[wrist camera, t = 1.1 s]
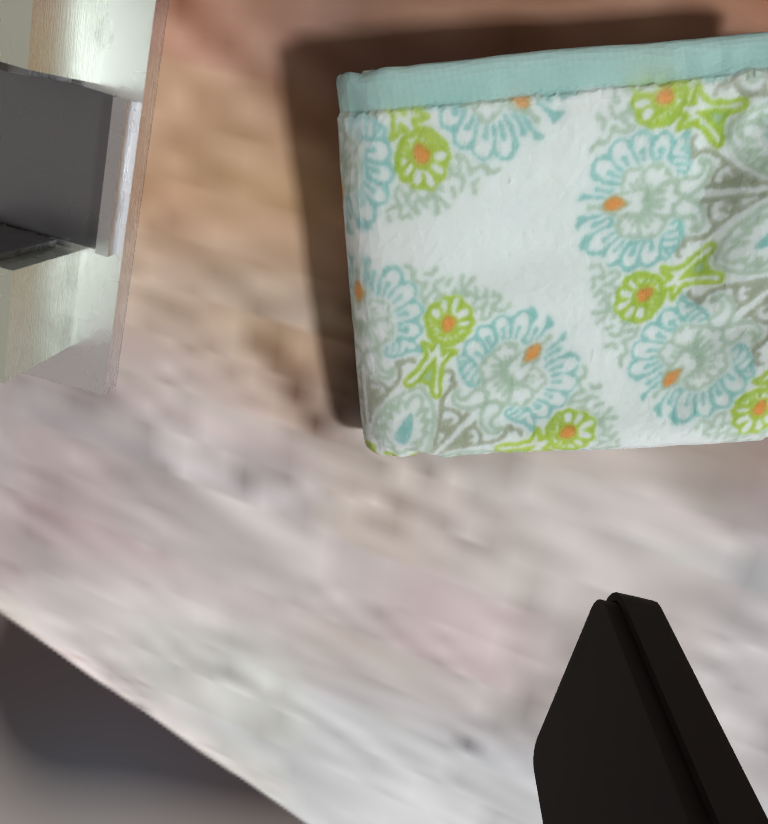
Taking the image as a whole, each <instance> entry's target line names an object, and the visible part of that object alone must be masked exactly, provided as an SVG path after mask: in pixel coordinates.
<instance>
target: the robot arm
mask: <svg viewBox="0 0 768 824" xmlns="http://www.w3.org/2000/svg"><path fill="white" fill-rule="evenodd" d="M533 765H534V773H535V779H536V785H537V791H538V796H539V802H540V808H541V814H542V820H543V824H768V818H767V816H766V814H765V812H764V811H763V809H762V807H761V805H760V803H759V801H758V799H757V797H756V795H755V793H754V791H753V789H752V787H751V785H750V783H749V781H748V779H747V777H746V775H745V773H744V771H743V769H742V767H741V765H740V763H739V761H738V759H737V757H736V755H735V753H734V751H733V749H732V747H731V745H730V743H729V741H728V739H727V737H726V735H725V733H724V731H723V729H722V727H721V725H720V723H719V721H718V719H717V717H716V715H715V713H714V712H713V710H712V708H711V706H710V704H709V702H708V700H707V698H706V696H705V694H704V692H703V690H702V688H701V686H700V684H699V682H698V680H697V678H696V676H695V674H694V672H693V670H692V668H691V666H690V664H689V662H688V660H687V658H686V656H685V654H684V652H683V650H682V648H681V646H680V644H679V642H678V640H677V638H676V636H675V634H674V632H673V630H672V628H671V626H670V624H669V622H668V620H667V618H666V616H665V614H664V613H663V611H662V609H661V607H660V605H659V604H658V603H657V602H655V601H652V600H648V599H644V598H639V597H635V596H631V595H626V594H622V593H617V592H615V593H612V594H611V595H610V596H609V597H608V598H607V600H606V601H605V600H601V599H599V600H597V601H596V602H595V603H594V604H593V606H592V608H591V610H590V613H589V615H588V618H587V620H586V622H585V625H584V627H583V630H582V632H581V634H580V637H579V639H578V642H577V644H576V646H575V649H574V651H573V654H572V656H571V658H570V661H569V663H568V666H567V668H566V670H565V673H564V675H563V678H562V680H561V682H560V685H559V687H558V690H557V692H556V694H555V697H554V699H553V702H552V704H551V706H550V709H549V711H548V714H547V716H546V718H545V721H544V723H543V726H542V728H541V730H540V733H539V735H538V738H537V740H536V744H535V749H534V757H533Z"/></svg>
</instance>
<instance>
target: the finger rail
mask: <svg viewBox="0 0 768 824" xmlns="http://www.w3.org/2000/svg"><path fill="white" fill-rule="evenodd" d="M168 4H169V0H0V382H2V383H5V382H7V381H9V380H11V379H13V378H14V377H16V376H18V375H20V374H22V373H24V374H28V375H31V376H35V377H39V378H42V379H46V380H50V381H53V382H57V383H61V384H65V385H68V386H72V387H76V388H79V389H83V390H87V391H90V392H94V393H98V394H101V395H105V394H106V393H107V392H109V391H110V390H111V389H112V388H114V387H115V386H116V380H117V373H118V366H119V359H120V351H121V344H122V337H123V330H124V322H125V315H126V308H127V301H128V293H129V286H130V279H131V272H132V264H133V257H134V250H135V243H136V235H137V228H138V221H139V214H140V206H141V199H142V192H143V185H144V177H145V170H146V163H147V156H148V149H149V141H150V134H151V127H152V120H153V112H154V105H155V98H156V91H157V83H158V76H159V69H160V62H161V54H162V47H163V40H164V33H165V25H166V18H167V11H168Z"/></svg>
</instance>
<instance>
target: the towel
mask: <svg viewBox="0 0 768 824" xmlns="http://www.w3.org/2000/svg"><path fill="white" fill-rule="evenodd" d="M336 86H337V93H338V101H339V109H340V114H339V116H338V118H337V123H338V131H339V159H340V169H341V183H342V197H343V212H344V223H345V238H346V249H347V262H348V275H349V286H350V297H351V309H352V321H353V328H354V343H355V356H356V368H357V378H358V391H359V401H360V413H361V421H362V426H363V433H364V440H365V444H366V446H367V447H368V448H369V449H370V450H372V451H373V452H375V453H377V454H380V455H391V454H392V455H394V456H397V457H404V456H410V455H414V454H416V453H419V452H422V453H427V454H433V455H437V456H440V457H453V456H458V455H477V454H487V453H492V452H534V451H565V450H605V449H624V448H646V447H660V446H672V445H697V444H715V443H727V442H740V441H756V440H763V439H764V438H765V437H768V32H757V33H747V34H738V35H728V36H718V37H708V38H700V39H686V40H673V41H665V42H655V43H644V44H624V45H604V46H590V47H577V48H565V49H553V50H542V51H534V52H526V53H515V54H505V55H497V56H490V57H483V58H476V59H467V60H457V61H447V62H436V63H424V64H417V65H410V66H396V67H383V68H380V69H377V70H365V71H363V72H362V73H361V74H360V73H355V72H346V73H344V74H340V75H339V76H338V77H337V81H336Z"/></svg>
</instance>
